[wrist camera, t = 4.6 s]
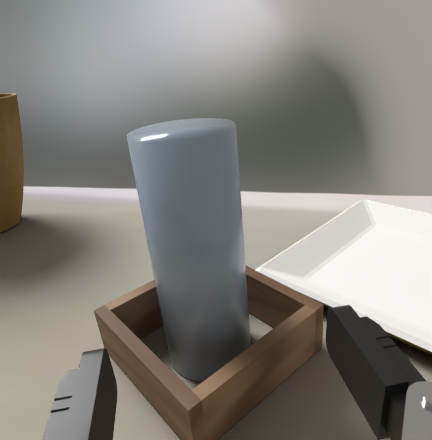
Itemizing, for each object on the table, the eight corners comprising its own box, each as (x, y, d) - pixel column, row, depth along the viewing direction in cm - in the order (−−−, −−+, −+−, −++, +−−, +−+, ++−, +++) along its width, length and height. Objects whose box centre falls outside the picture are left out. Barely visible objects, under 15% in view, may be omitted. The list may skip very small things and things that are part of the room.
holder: (196, 458, 19) (188, 410, 17) (105, 350, 26) (93, 310, 25) (322, 347, 25) (323, 304, 23) (217, 284, 32) (214, 249, 31)
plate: (360, 214, 43) (361, 197, 42) (580, 268, 30) (589, 246, 29) (254, 289, 32) (252, 268, 31) (532, 426, 19) (544, 398, 18)
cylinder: (204, 398, 22) (166, 148, 16) (153, 349, 26) (107, 134, 20) (268, 347, 25) (258, 122, 19) (214, 311, 29) (191, 115, 23)
